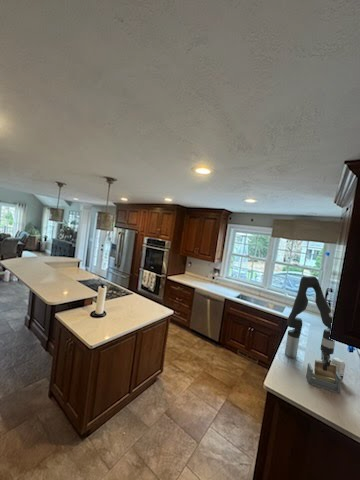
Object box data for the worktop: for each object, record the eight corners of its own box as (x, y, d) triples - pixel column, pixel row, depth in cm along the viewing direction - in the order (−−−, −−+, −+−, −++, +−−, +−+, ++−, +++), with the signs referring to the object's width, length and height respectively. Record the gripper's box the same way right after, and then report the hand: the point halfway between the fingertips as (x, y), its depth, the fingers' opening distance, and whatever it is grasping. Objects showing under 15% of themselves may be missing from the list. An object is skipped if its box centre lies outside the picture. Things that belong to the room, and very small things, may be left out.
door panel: (314, 372, 151) (314, 359, 151) (334, 377, 147) (334, 364, 147) (315, 374, 148) (315, 361, 149) (335, 379, 144) (336, 366, 144)
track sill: (306, 376, 155) (308, 362, 155) (334, 385, 149) (337, 371, 149) (308, 383, 147) (310, 369, 147) (339, 393, 141) (341, 379, 140)
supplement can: (327, 374, 162) (330, 355, 161) (340, 378, 159) (343, 358, 158) (330, 380, 154) (333, 360, 154) (344, 384, 151) (347, 364, 151)
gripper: (318, 339, 155) (315, 362, 156) (324, 347, 142) (320, 372, 143) (330, 342, 153) (327, 365, 153) (337, 351, 140) (333, 376, 140)
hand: (324, 369), depth 148 cm, fingers closed on door panel, 2 cm apart
